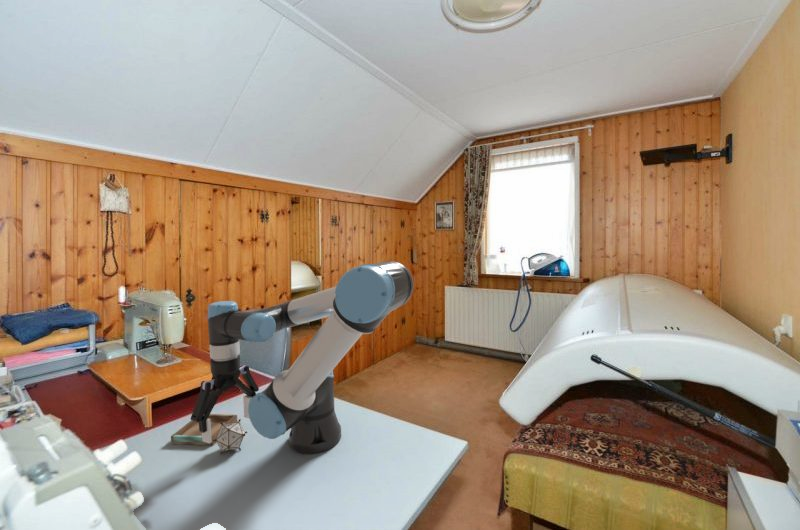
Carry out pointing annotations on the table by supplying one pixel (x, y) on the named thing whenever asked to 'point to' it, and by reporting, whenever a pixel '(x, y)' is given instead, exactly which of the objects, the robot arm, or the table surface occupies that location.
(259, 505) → the table surface
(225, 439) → the game die
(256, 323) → the robot arm
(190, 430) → the brown wooden tray
